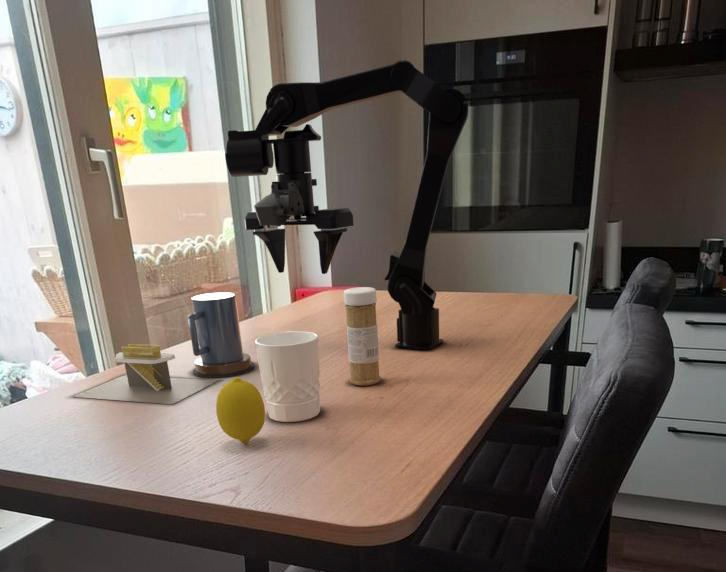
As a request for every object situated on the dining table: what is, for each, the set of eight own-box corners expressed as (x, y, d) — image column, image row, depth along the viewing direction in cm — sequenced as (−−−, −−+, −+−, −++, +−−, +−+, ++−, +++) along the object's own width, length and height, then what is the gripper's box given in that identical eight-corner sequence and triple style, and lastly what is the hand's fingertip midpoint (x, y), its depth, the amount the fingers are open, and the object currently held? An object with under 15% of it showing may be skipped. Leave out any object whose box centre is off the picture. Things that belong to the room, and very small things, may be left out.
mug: (219, 359, 120) (209, 290, 115) (262, 362, 116) (253, 292, 111) (176, 375, 112) (164, 302, 107) (220, 380, 107) (209, 304, 103)
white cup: (315, 424, 87) (308, 345, 83) (255, 423, 89) (245, 345, 85) (330, 404, 94) (324, 330, 90) (275, 404, 96) (266, 331, 92)
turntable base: (267, 364, 116) (266, 362, 116) (226, 380, 108) (226, 378, 108) (222, 359, 121) (221, 357, 121) (180, 374, 113) (179, 372, 113)
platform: (172, 404, 98) (164, 358, 96) (72, 396, 105) (62, 353, 102) (218, 380, 109) (212, 338, 106) (124, 375, 115) (116, 335, 112)
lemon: (223, 437, 85) (214, 372, 82) (269, 433, 85) (261, 369, 82) (219, 453, 80) (208, 386, 77) (267, 449, 80) (259, 382, 77)
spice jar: (371, 376, 106) (367, 285, 100) (385, 383, 102) (381, 288, 97) (344, 381, 104) (338, 289, 99) (357, 388, 100) (351, 292, 95)
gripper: (216, 178, 112) (229, 278, 118) (311, 172, 102) (319, 282, 109) (261, 175, 120) (271, 269, 127) (352, 170, 111) (358, 271, 117)
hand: (302, 273), depth 120 cm, fingers open, 9 cm apart
